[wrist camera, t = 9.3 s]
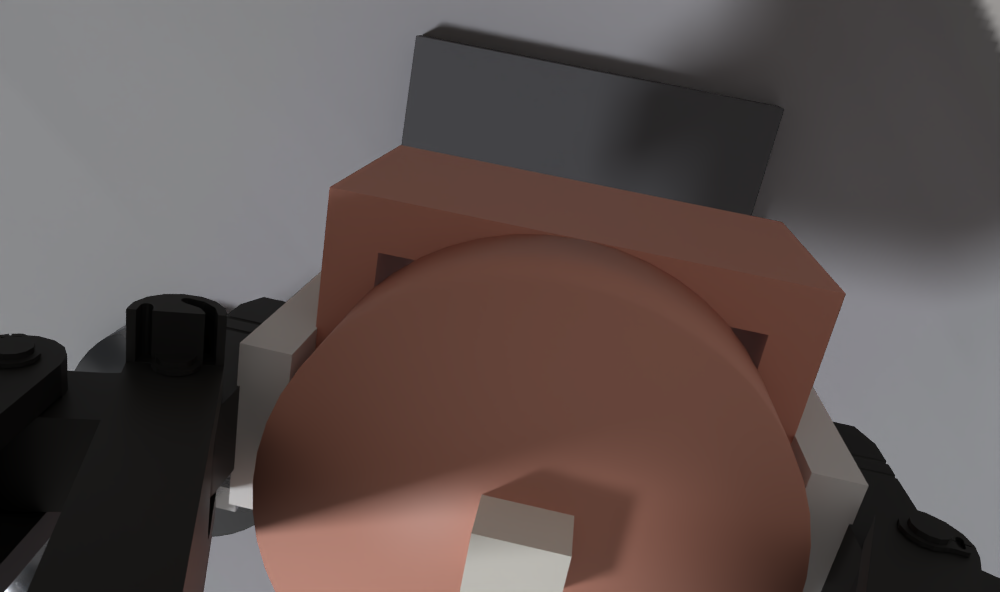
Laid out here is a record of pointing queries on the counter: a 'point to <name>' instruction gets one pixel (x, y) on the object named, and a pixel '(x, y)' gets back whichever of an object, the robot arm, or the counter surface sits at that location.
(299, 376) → the cap
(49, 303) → the counter surface
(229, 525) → the post
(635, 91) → the dark grey square plate
